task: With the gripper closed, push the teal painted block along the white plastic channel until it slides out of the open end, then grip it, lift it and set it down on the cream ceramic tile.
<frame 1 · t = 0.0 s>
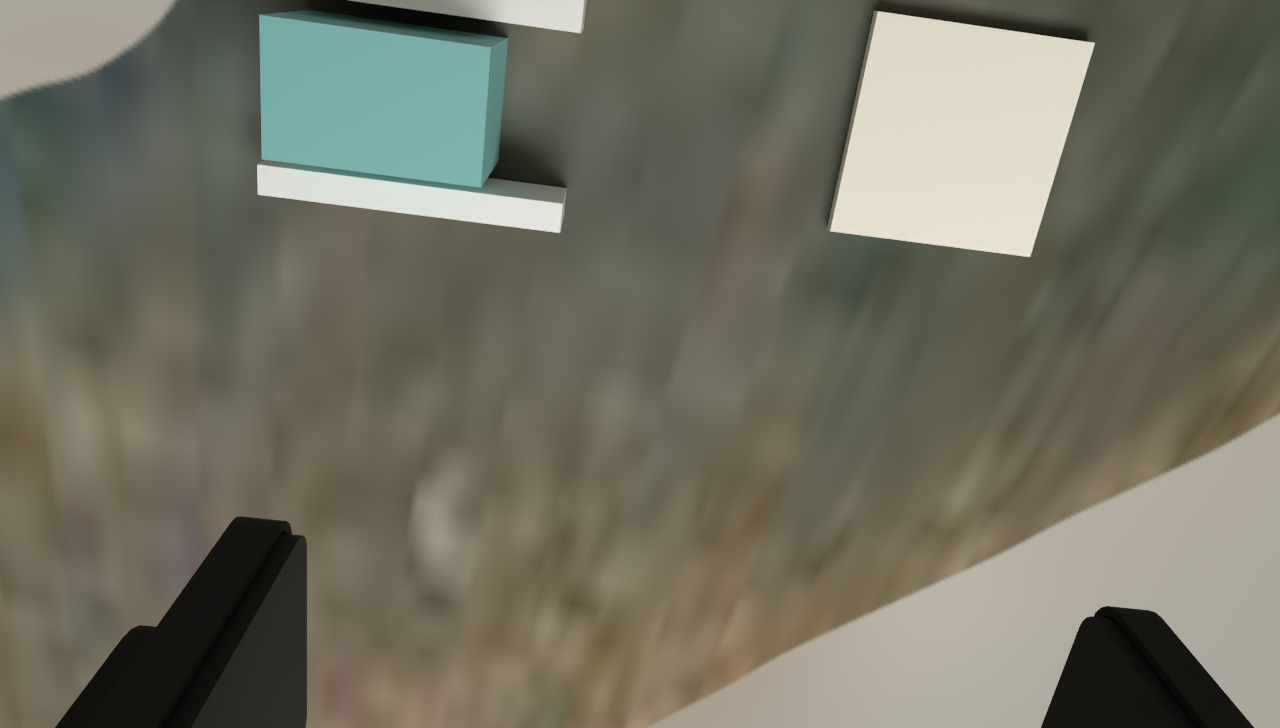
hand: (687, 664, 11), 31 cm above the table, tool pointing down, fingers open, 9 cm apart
channel: (430, 91, 39), on the table
teal block: (406, 87, 39), on the table
tile: (953, 138, 40), on the table
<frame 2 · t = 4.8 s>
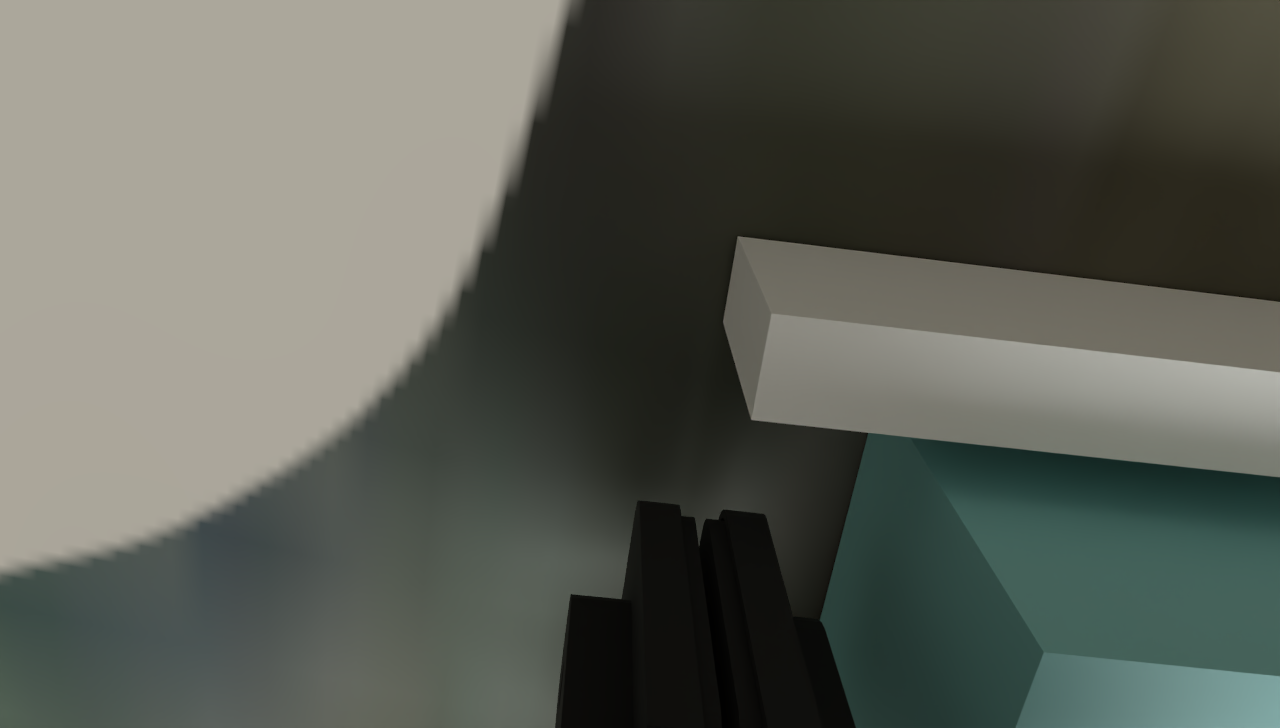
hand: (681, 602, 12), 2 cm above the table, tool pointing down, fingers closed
channel: (1077, 565, 14), on the table
teal block: (1095, 567, 14), on the table, touching gripper
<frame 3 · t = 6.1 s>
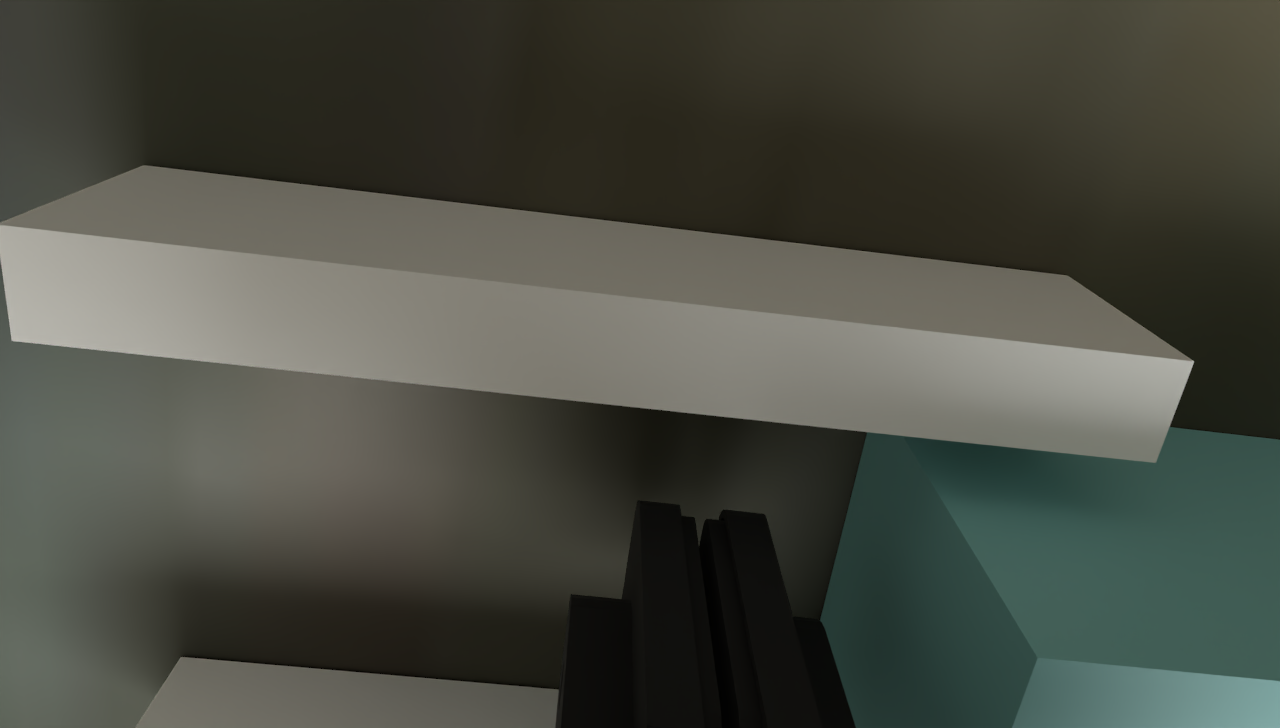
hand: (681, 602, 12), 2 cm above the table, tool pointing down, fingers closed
channel: (584, 516, 14), on the table
teal block: (1094, 570, 14), on the table, touching gripper
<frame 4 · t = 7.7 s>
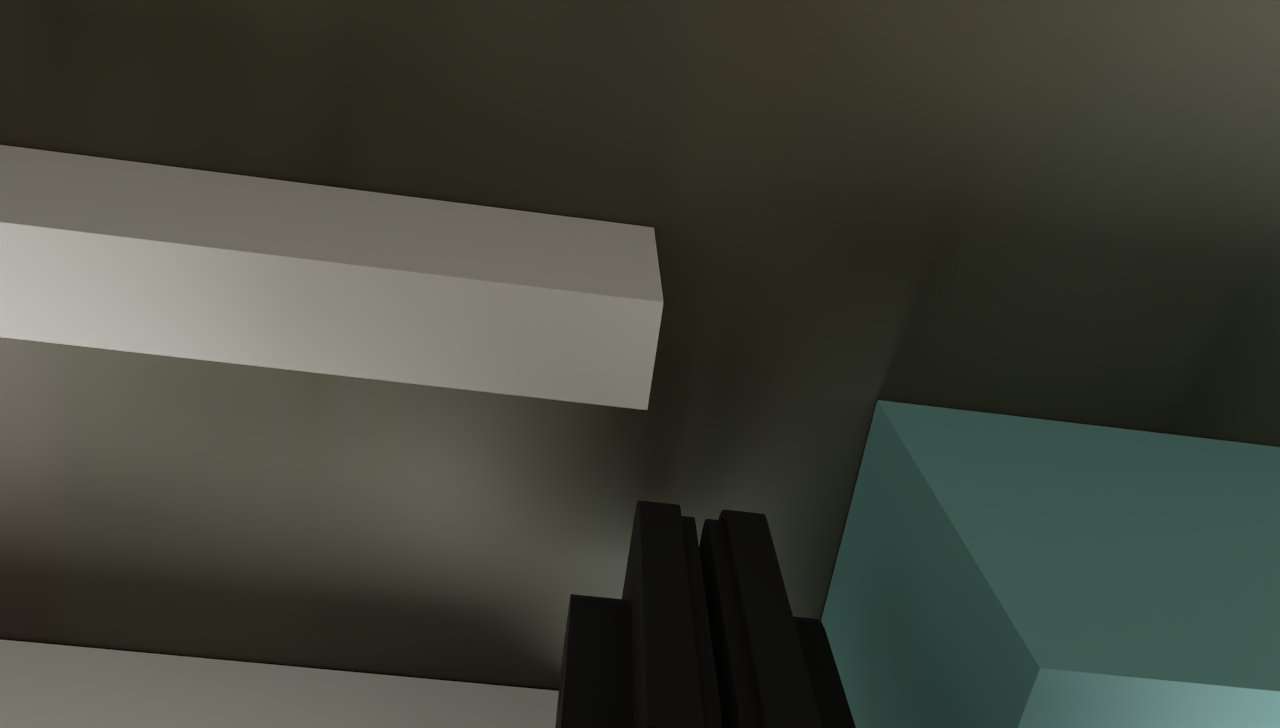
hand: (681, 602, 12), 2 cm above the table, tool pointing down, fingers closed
channel: (195, 477, 13), on the table
teal block: (1093, 576, 14), on the table, touching gripper
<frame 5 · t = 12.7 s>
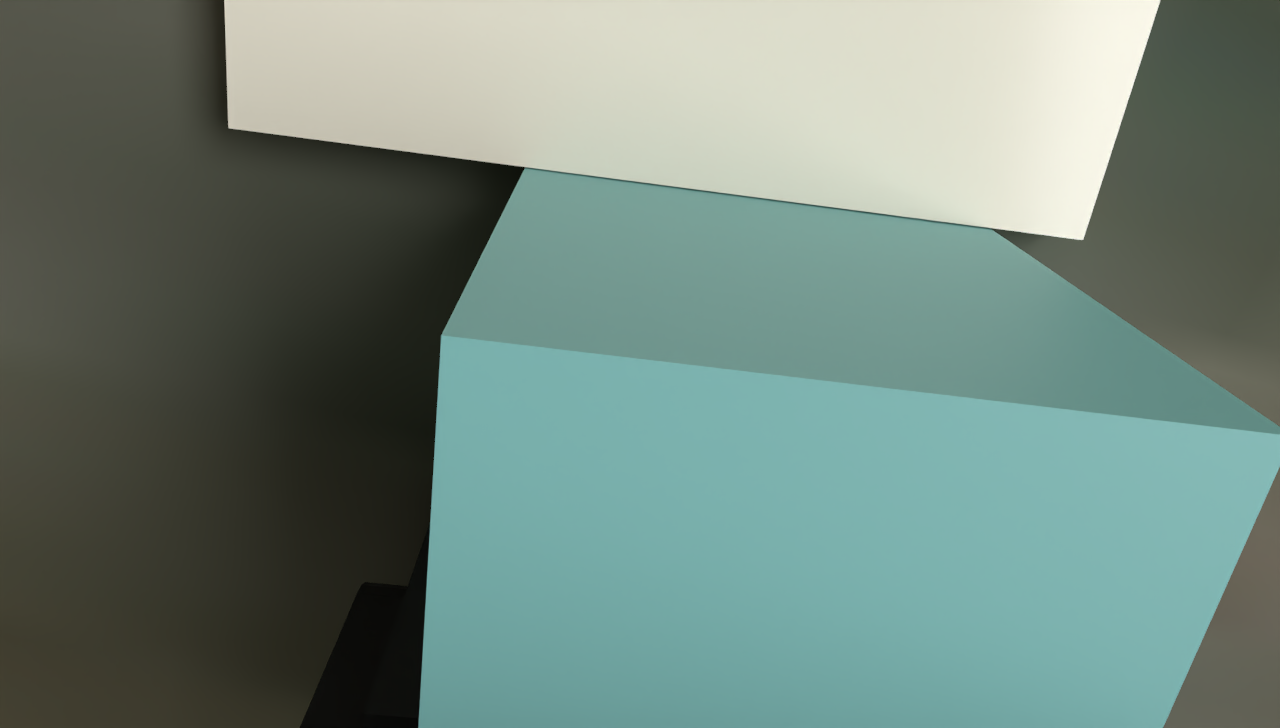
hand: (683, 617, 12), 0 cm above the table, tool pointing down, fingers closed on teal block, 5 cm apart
teal block: (697, 497, 12), on the table, touching gripper
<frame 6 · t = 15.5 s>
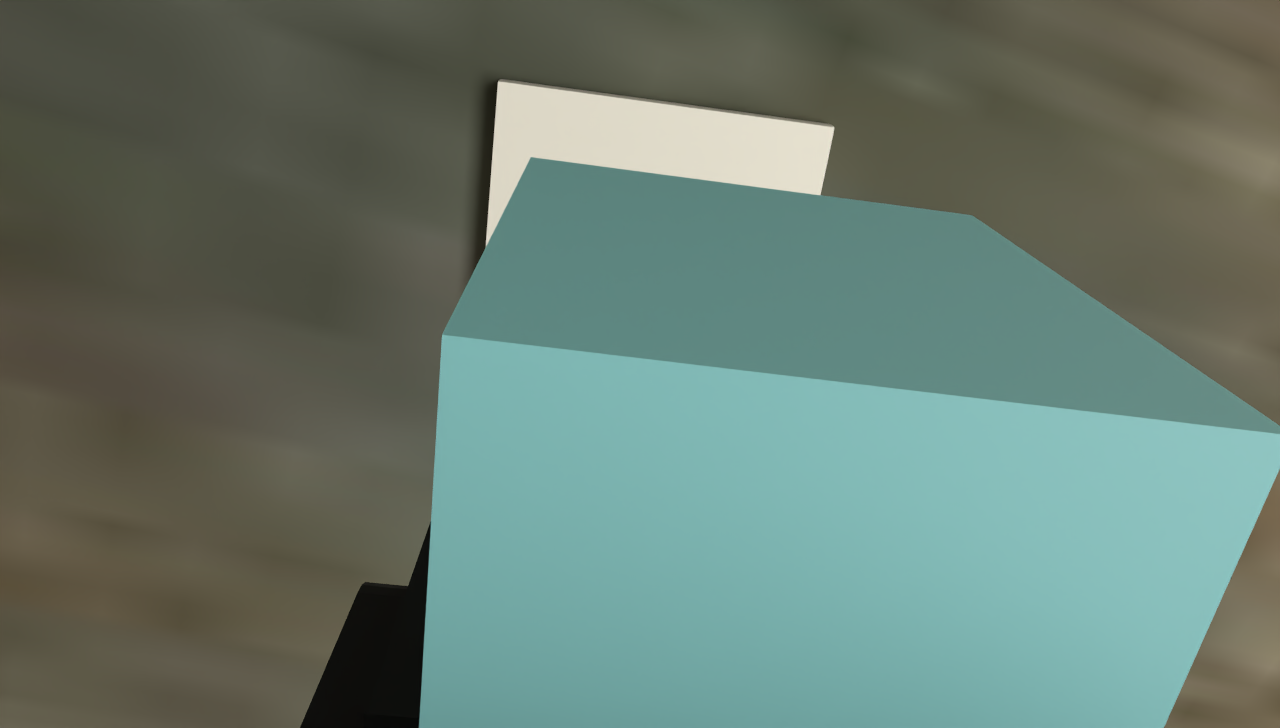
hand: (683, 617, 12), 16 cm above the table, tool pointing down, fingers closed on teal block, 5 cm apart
teal block: (698, 496, 12), point 16 cm above the table, touching gripper
tile: (644, 261, 27), on the table
when the fingers open (2 cm above the table, at t = 18.3 s): teal block stays where it is, resting on tile.
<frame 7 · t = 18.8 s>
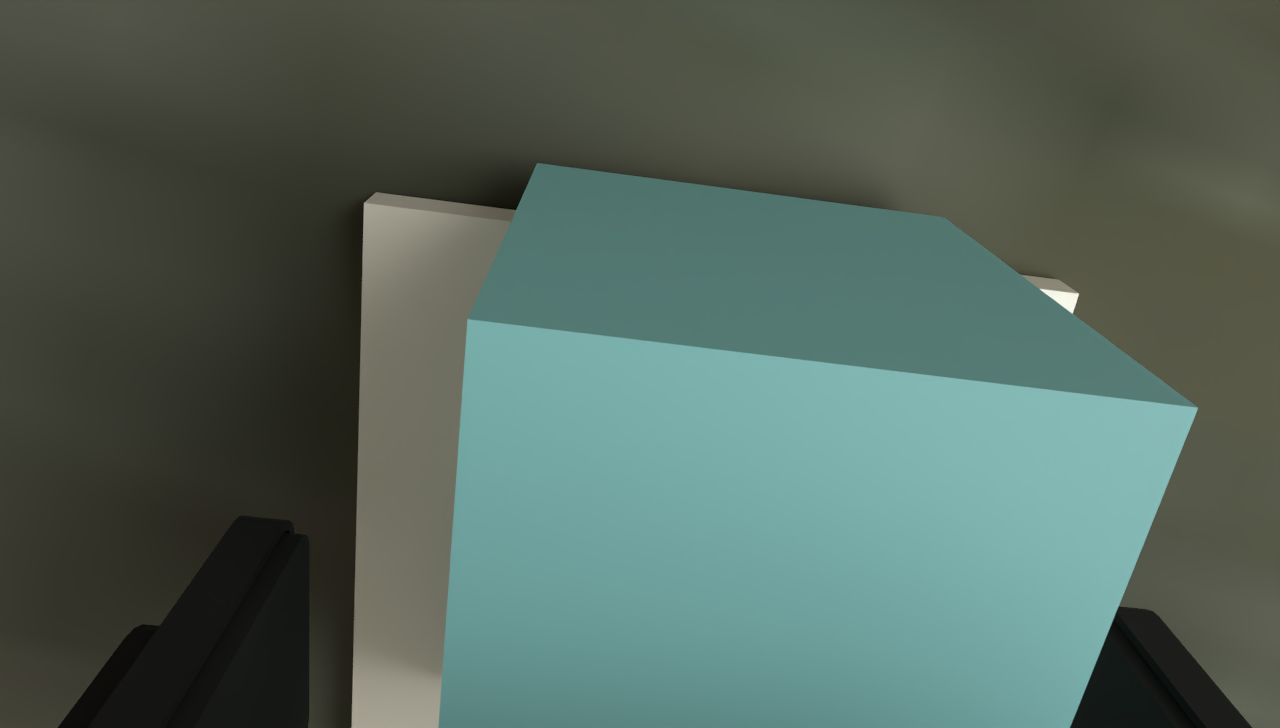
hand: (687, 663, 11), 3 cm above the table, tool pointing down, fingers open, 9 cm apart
teal block: (691, 478, 13), point 1 cm above the table, touching tile
tile: (674, 531, 14), on the table
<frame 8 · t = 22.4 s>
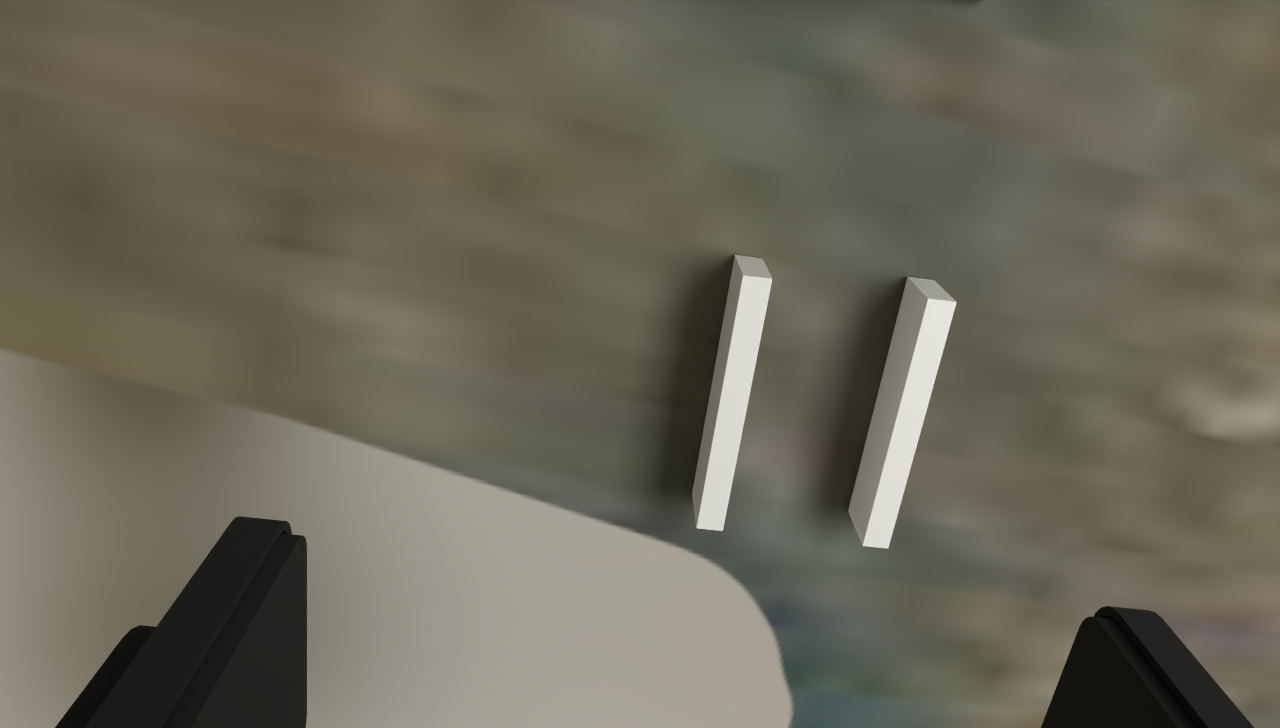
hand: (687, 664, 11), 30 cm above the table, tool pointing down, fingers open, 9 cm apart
channel: (807, 392, 43), on the table
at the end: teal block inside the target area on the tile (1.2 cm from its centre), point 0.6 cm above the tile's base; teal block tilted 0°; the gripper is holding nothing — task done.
